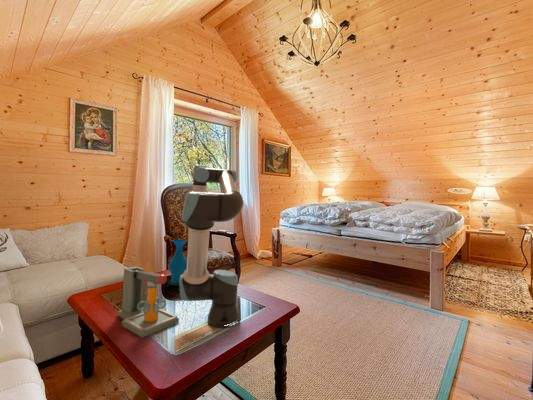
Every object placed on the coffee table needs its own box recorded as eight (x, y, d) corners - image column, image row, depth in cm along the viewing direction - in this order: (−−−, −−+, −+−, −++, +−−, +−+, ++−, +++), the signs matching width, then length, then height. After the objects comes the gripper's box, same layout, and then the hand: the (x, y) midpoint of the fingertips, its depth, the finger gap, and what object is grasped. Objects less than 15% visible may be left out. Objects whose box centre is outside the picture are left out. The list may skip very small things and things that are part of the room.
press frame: (178, 322, 129) (181, 275, 128) (142, 337, 114) (144, 284, 113) (145, 306, 144) (147, 264, 144) (109, 318, 129) (111, 271, 129)
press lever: (169, 287, 123) (169, 274, 123) (159, 290, 118) (159, 276, 119) (138, 280, 136) (138, 268, 136) (128, 282, 132) (128, 270, 132)
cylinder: (153, 327, 119) (155, 292, 119) (131, 323, 121) (133, 289, 121) (168, 315, 131) (170, 283, 131) (148, 312, 133) (150, 281, 133)
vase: (163, 283, 181) (165, 240, 181) (178, 279, 192) (180, 238, 192) (176, 287, 175) (178, 243, 175) (191, 282, 186) (193, 240, 185)
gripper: (212, 193, 155) (210, 236, 156) (196, 193, 163) (194, 233, 163) (202, 193, 149) (200, 237, 149) (186, 192, 156) (184, 234, 157)
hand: (197, 235), depth 156 cm, fingers closed
